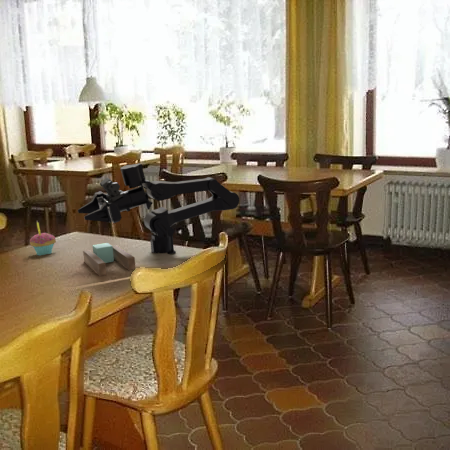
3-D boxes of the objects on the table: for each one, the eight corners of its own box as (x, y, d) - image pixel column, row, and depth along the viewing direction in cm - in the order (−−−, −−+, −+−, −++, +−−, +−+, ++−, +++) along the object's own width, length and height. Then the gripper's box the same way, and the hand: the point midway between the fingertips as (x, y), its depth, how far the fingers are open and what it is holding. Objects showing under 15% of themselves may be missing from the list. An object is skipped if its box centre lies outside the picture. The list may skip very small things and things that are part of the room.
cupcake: (49, 257, 215) (45, 222, 212) (26, 257, 217) (21, 222, 214) (61, 250, 223) (57, 216, 221) (38, 250, 225) (34, 216, 222)
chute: (118, 258, 210) (116, 244, 209) (135, 271, 194) (134, 257, 193) (84, 263, 205) (82, 250, 204) (99, 278, 189) (98, 263, 188)
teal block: (109, 257, 208) (107, 242, 207) (113, 261, 204) (112, 246, 202) (93, 260, 206) (92, 245, 205) (98, 264, 201) (96, 248, 200)
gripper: (114, 170, 211) (67, 184, 205) (131, 180, 194) (80, 196, 189) (123, 202, 214) (77, 217, 209) (140, 215, 198) (90, 231, 193)
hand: (81, 214), depth 200 cm, fingers open, 9 cm apart
